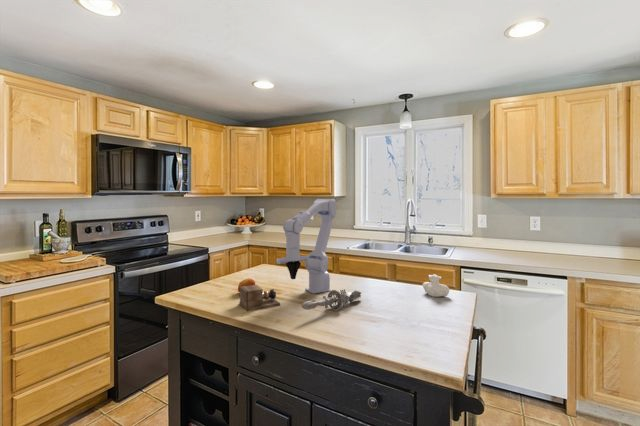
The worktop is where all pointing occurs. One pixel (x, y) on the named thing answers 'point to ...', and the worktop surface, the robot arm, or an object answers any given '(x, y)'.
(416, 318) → the worktop surface
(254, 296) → the bearing housing
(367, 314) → the worktop surface
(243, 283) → the fruit
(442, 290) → the white rounded figure
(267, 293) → the shaft
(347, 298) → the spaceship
